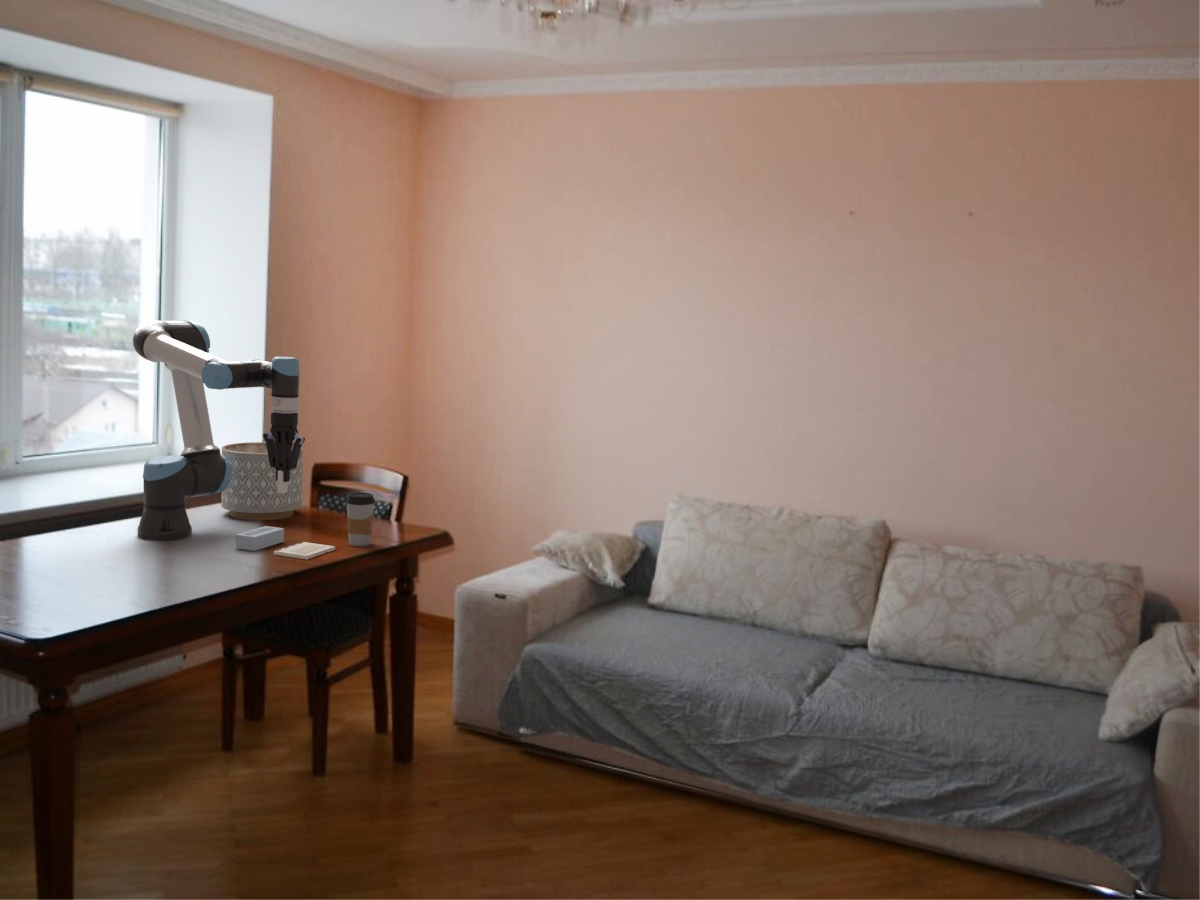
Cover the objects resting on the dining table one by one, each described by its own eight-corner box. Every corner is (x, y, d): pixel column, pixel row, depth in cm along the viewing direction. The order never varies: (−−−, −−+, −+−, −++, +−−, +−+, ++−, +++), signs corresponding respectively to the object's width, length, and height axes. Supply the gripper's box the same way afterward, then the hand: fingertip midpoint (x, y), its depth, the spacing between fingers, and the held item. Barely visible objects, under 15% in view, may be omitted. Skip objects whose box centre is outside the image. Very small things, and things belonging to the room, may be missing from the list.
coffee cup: (367, 548, 336) (368, 498, 334) (340, 545, 338) (341, 496, 336) (378, 542, 344) (379, 493, 342) (352, 540, 346) (353, 491, 344)
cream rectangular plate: (273, 554, 323) (273, 550, 323) (303, 545, 336) (303, 541, 336) (306, 559, 319) (306, 555, 319) (335, 549, 332) (335, 546, 332)
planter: (317, 513, 383) (318, 447, 380) (266, 525, 360) (267, 456, 357) (257, 503, 393) (258, 440, 390) (204, 515, 370) (204, 447, 367)
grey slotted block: (235, 548, 327) (235, 534, 327) (265, 539, 340) (266, 525, 340) (254, 550, 325) (254, 536, 325) (283, 541, 338) (284, 528, 338)
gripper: (257, 410, 323) (255, 491, 327) (296, 414, 319) (293, 497, 323) (273, 407, 330) (271, 487, 334) (311, 412, 326) (309, 493, 330)
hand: (282, 492), depth 328 cm, fingers closed
